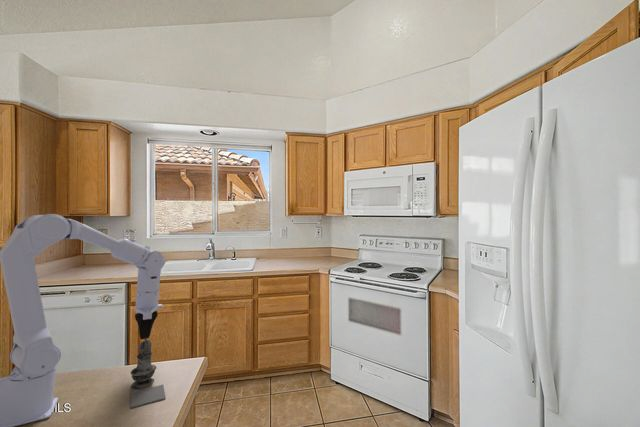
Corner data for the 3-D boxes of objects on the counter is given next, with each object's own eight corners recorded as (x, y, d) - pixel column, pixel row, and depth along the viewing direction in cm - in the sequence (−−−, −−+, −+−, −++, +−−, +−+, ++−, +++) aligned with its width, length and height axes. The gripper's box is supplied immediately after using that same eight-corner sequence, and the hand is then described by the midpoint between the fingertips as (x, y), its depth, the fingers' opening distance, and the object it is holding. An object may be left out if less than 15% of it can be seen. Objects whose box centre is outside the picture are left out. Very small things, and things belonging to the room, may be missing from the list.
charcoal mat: (130, 408, 63) (130, 407, 63) (131, 393, 69) (131, 392, 69) (165, 399, 67) (165, 397, 67) (163, 385, 73) (163, 384, 73)
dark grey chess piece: (160, 378, 76) (163, 334, 77) (144, 390, 70) (148, 342, 71) (140, 377, 77) (143, 333, 78) (123, 388, 71) (127, 340, 72)
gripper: (165, 294, 78) (162, 343, 77) (161, 286, 90) (158, 328, 89) (135, 297, 74) (131, 349, 73) (135, 287, 86) (132, 332, 85)
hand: (144, 338), depth 80 cm, fingers closed
